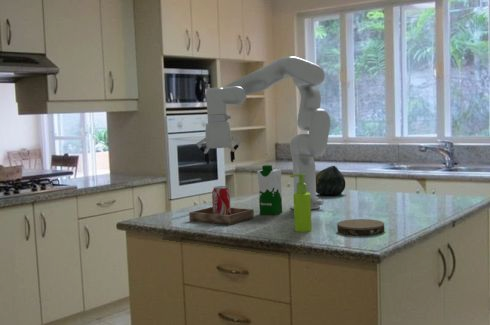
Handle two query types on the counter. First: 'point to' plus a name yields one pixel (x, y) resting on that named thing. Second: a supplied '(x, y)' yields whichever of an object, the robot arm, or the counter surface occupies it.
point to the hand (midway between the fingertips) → (220, 162)
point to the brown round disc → (360, 227)
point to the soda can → (221, 200)
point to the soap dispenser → (302, 206)
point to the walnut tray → (221, 216)
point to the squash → (330, 181)
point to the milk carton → (270, 190)
